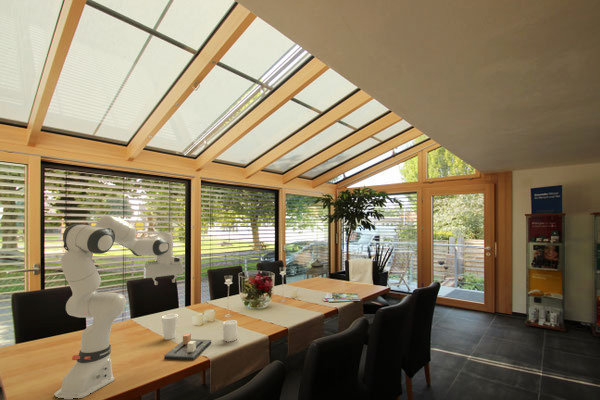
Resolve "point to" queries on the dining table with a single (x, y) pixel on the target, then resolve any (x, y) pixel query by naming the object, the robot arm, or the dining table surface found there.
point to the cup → (230, 330)
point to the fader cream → (191, 346)
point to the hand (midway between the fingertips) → (165, 283)
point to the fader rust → (186, 338)
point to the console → (182, 353)
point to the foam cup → (169, 325)
